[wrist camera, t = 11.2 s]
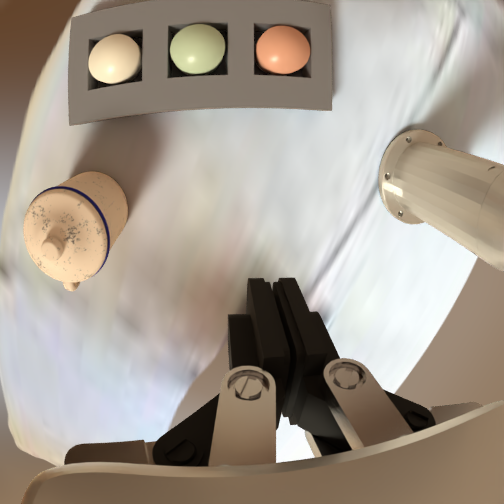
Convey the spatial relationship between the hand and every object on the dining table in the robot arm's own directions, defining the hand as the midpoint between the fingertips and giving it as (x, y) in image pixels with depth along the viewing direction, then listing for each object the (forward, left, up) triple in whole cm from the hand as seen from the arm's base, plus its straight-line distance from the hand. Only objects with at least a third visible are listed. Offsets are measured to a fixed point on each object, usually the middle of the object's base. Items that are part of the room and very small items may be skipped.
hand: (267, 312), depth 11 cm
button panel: (+3, -14, -23) cm, 27 cm away
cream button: (+11, -14, -23) cm, 29 cm away
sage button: (+3, -14, -23) cm, 27 cm away
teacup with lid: (+16, +3, -23) cm, 28 cm away
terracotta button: (-5, -14, -23) cm, 27 cm away
